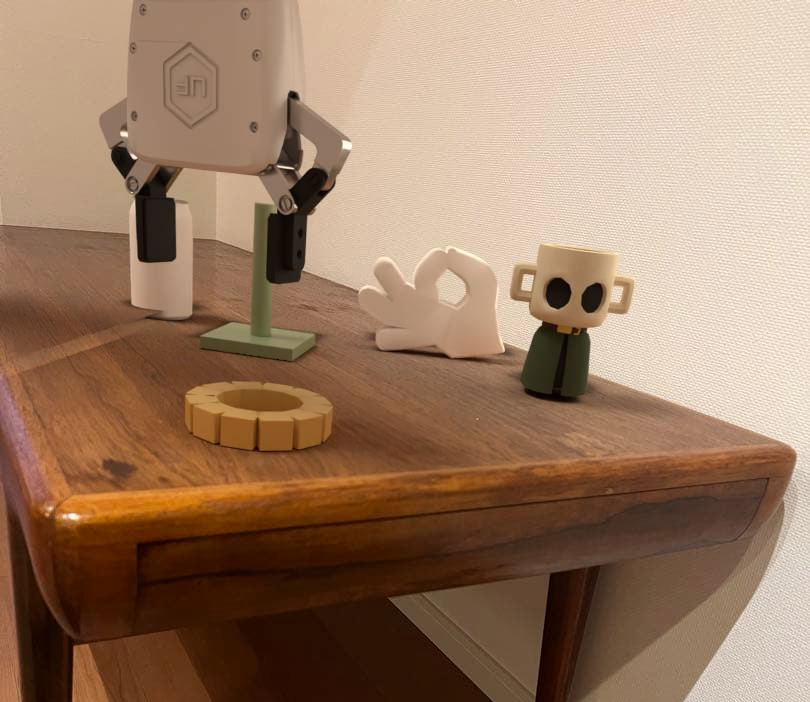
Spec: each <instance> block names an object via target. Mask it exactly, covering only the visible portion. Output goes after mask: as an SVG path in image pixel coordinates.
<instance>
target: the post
mask: <svg viewBox="0 0 810 702" xmlns="http://www.w3.org/2000/svg"><path fill="white" fill-rule="evenodd" d="M253 207H254V212H253V216H254V217H253V236H252V237H253V238H252V239H253V241H252V266H251V267H252V268H251V270H252V271H251V275H252V276H251V297H250V298H251V299H250V324H247V323H241V322H233V321H232V322H228V323H227V324H225V325H222V326H220V327H218V328H215V329H212V330H210V331H208V332H206V333H203V334H201V335H200V336H199V349H202V348H204V349H203V350H209V349H210V350H209V351H216V350H217V351H216V352H225V353H229V354H230V353H231V354H236V353H239V354H238V355H243V354H246V355H245V356H250V355H252V357H257V356H260V357H259V358H264V357H265V359H270V360H271V359H272V360H277V359H279V361H284V360H286V361H285V362H291V361H292V362H294V361H296V359H298V358H299V357H300V356H302V355H303V354H305V353H306V352H308V351H309V350H311V349H312V348H313V347H315V344H316V334H315V333H311V332H303V331H296V330H289V329H282V328H277V327H272V316H273V315H272V314H273V294H274V293H273V292H274V284H273V283H269V281H268V280H267V279H266V259H267V226H268V217H269V216H270V213H277V207H276V205H275V203H266V202H258V201H257V202H256V201H255V202H254V205H253Z"/></svg>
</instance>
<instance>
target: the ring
mask: <svg viewBox="0 0 810 702" xmlns="http://www.w3.org/2000/svg"><path fill="white" fill-rule="evenodd" d="M333 412H334V407H333V404H332V402H331V401H329V400H328V399H327V398H326V397H325V396H323V395H322V396H321V394H320V393H317V392H313V391H310V390H308V389H305V388H301V387H294V385H286V384H279V383H273V382H265V383H264V384H262V383H261V382H260V381H234V380H233V381H230V382H226V381H220V382H214V383H213V382H212V383H207V384H202V385H201V386H199V385H197V386H195V387H193V388H192V389H190V390H189V391H186V392H185V395H184V424H185V426H186V427H187V431H188V432H189V433H190V434H192V435H193V436H194V437H197V438H199V439H202V440H204V441H207V442H209V443H211V444H214V445H215V444H220V446H221V447H226V448H227V447H228V448H233V449H241V450H246V451H247V450H248V451H253V450H254V449H256V448H257V449H258V451H259V452H276V451H277V452H282V451H292V450H293V449H295V450H303V449H307V448H311V447H315V446H319V445H321V443H325V442H326V441H327V440H328V438H329V437H330V436H331V434H332V425H333V414H334V413H333Z"/></svg>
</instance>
